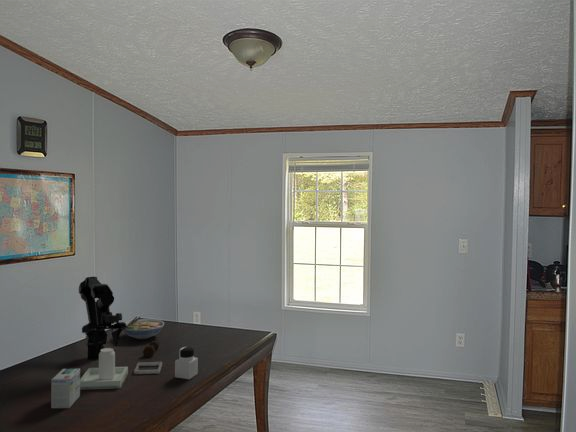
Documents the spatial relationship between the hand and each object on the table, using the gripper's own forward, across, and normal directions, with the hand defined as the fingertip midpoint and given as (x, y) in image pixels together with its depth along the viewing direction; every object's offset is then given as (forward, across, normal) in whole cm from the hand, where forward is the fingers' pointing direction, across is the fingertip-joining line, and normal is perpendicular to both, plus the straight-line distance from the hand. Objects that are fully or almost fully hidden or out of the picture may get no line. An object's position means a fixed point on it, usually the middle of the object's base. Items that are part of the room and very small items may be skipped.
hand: (106, 346), depth 203 cm
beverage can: (+14, -5, -4) cm, 16 cm away
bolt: (+3, +30, +8) cm, 31 cm away
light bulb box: (+21, -25, -8) cm, 34 cm away
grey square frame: (+13, +14, -8) cm, 21 cm away
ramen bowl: (-10, +42, +28) cm, 51 cm away
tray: (+15, -6, -4) cm, 16 cm away
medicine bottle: (+21, +19, -25) cm, 38 cm away
